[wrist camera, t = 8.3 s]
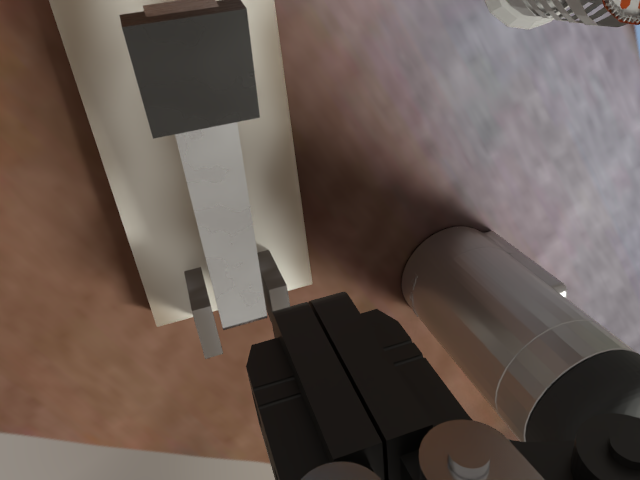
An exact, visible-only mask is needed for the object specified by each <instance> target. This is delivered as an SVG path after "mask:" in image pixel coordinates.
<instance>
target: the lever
mask: <svg viewBox="0 0 640 480" xmlns="http://www.w3.org/2000/svg"><path fill="white" fill-rule="evenodd" d="M143 9H144V11H142V12H135V13H128V14H122V15H120V20H121V26H122V30H123V33H124V37H125V41H126V44H127V48H128V51H129V55H130V58H131V62H132V65H133V69H134V73H135V76H136V80H137V83H138V87H139V90H140V94H141V98H142V101H143V105H144V108H145V112H146V115H147V119H148V122H149V126H150V130H151V133H152V137H153V139H154V138H159V137H164V136H169V135H174V134H175V138H176V142H177V146H178V150H179V154H180V158H181V162H182V166H183V170H184V174H185V178H186V182H187V186H188V190H189V194H190V198H191V202H192V207H193V211H194V215H195V219H196V223H197V227H198V231H199V235H200V239H201V243H202V247H203V251H204V255H205V259H206V263H207V267H208V271H209V275H210V279H211V283H212V287H213V291H214V295H215V299H216V303H217V307H218V311H219V315H220V319H221V323H222V327H223V330H226V329H229V328H233V327H236V326H240V325H243V324H247V323H250V322H254V321H257V320H261V319H264V318H267V312H266V306H265V299H264V293H263V286H262V280H261V273H260V267H259V260H258V254H257V247H256V241H255V234H254V228H253V222H252V215H251V209H250V202H249V196H248V189H247V183H246V176H245V170H244V163H243V157H242V150H241V144H240V138H239V131H238V125H237V122H240V121H245V120H250V119H255V118H260V114H259V106H258V97H257V89H256V81H255V73H254V64H253V56H252V48H251V40H250V31H249V23H248V15H247V8H246V7H245V6H244V4H243V3H242V1H241V0H219V1H216V0H178V1H171V2H164V3H157V4H150V5H143Z"/></svg>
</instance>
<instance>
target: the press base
mask: <svg viewBox="0 0 640 480" xmlns="http://www.w3.org/2000/svg"><path fill="white" fill-rule="evenodd" d="M171 1H178V0H49V2H50V5H51V8H52V11H53V14H54V17H55V20H56V23H57V27H58V30H59V33H60V36H61V39H62V42H63V45H64V48H65V51H66V54H67V57H68V60H69V63H70V66H71V69H72V72H73V75H74V78H75V81H76V84H77V87H78V90H79V93H80V96H81V99H82V102H83V105H84V108H85V111H86V114H87V117H88V120H89V123H90V126H91V129H92V132H93V135H94V138H95V141H96V144H97V147H98V150H99V153H100V156H101V159H102V162H103V165H104V168H105V171H106V175H107V178H108V181H109V184H110V187H111V190H112V193H113V196H114V199H115V202H116V205H117V208H118V211H119V214H120V217H121V220H122V223H123V226H124V229H125V232H126V235H127V238H128V241H129V244H130V247H131V250H132V253H133V256H134V259H135V262H136V265H137V268H138V271H139V274H140V277H141V280H142V283H143V286H144V289H145V292H146V295H147V298H148V301H149V304H150V307H151V310H152V313H153V316H154V319H155V323H156V326H157V327H158V326H162V325H166V324H169V323H173V322H177V321H180V320H184V319H187V318H191V317H194V321H195V324H196V328H197V331H198V335H199V338H200V342H201V345H202V349H203V353H204V356H205V359H207V358H210V357H213V356H217V355H220V354H223V351H222V347H221V343H220V339H219V335H218V332H217V328H216V324H215V320H214V316H213V311H216V310H218V307H217V303H216V299H215V295H214V291H213V287H212V283H211V279H210V275H209V271H208V267H207V263H206V259H205V255H204V251H203V247H202V243H201V239H200V235H199V231H198V227H197V223H196V219H195V215H194V211H193V207H192V202H191V198H190V194H189V190H188V186H187V182H186V178H185V174H184V170H183V166H182V162H181V158H180V154H179V150H178V146H177V142H176V138H175V134H174V135H169V136H164V137H159V138H154V139H153V137H152V133H151V130H150V126H149V122H148V119H147V115H146V112H145V108H144V105H143V101H142V98H141V94H140V90H139V87H138V83H137V80H136V76H135V73H134V69H133V65H132V62H131V58H130V55H129V51H128V48H127V44H126V41H125V37H124V33H123V30H122V26H121V20H120V15H122V14H128V13H135V12H142V11H144V9H143V5H150V4H157V3H164V2H171ZM216 1H219V0H216ZM241 1H242V3H243V4H244V6H245V7H246V8H247V15H248V23H249V31H250V40H251V48H252V56H253V64H254V73H255V81H256V89H257V97H258V106H259V114H260V118H255V119H250V120H245V121H240V122H237V125H238V131H239V138H240V144H241V150H242V157H243V163H244V170H245V176H246V183H247V189H248V196H249V202H250V209H251V215H252V222H253V228H254V234H255V241H256V247H257V254H258V260H259V267H260V273H261V280H262V286H263V293H264V299H265V306H266V310H267V312H268V315H269V317H270V320H271V312H272V311H276V310H280V309H283V308H287V307H290V303H289V297H288V291H289V290H293V289H296V288H300V287H304V286H307V285H311V284H312V277H311V269H310V262H309V255H308V247H307V240H306V232H305V225H304V218H303V210H302V203H301V195H300V188H299V181H298V173H297V166H296V158H295V151H294V143H293V136H292V129H291V121H290V114H289V106H288V99H287V92H286V84H285V77H284V69H283V62H282V55H281V47H280V40H279V32H278V25H277V18H276V10H275V3H274V0H241ZM271 322H272V320H271Z"/></svg>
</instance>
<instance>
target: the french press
mask: <svg viewBox="0 0 640 480" xmlns="http://www.w3.org/2000/svg"><path fill="white" fill-rule="evenodd" d="M485 2H486V5H487V7H488V9H489V11H490V13H491V14H492V15H494V16H495V17H496V18H497V19H499V20H500V21H501V22H502V23H504V24H505V25H506V26H507V27H514V28H521V29H528V30H529V29H532V28H535V27H538V26H541V25H543V24H546V23H549V22H551V21H552V20H554V19H555V20H559V21H569V22H573V23H584V24H585V25H597V26H610V27H620V26H623V25H626V24H635V25H639V24H640V0H485ZM588 2H591V3H593V4H592V5H590V6H589V7H587V8H586V9H585V10H584V8H583V5H585V4H586V3H588ZM601 4H603V5H604V8H602V9H601V10H599V11H598V12H596V13H595V14H594V15H591V16H589V17H588V16H587V14H588V13H589V12H591V11H592V10H593V9H595V8H596V7H598V6H599V5H601ZM568 7H570V8H571V9H570V10H568V11H567V12H566V10H565V9H566V8H568ZM607 11H608V12H610V13H611V14H612V15H610V16H609V17H607V18H605V19H603V20H600V21H598V22H596V23H595V22H594V21H593V19H596V18H598V17H600V16H602V15H603V14H604V13H606V12H607ZM572 13H574V14H575V15H574V16H572V17H571V16H570V14H572ZM559 14H560V15H559ZM563 17H565V18H566V19H561V18H563ZM578 18H579V19H580V21H575V19H578Z"/></svg>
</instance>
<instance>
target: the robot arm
mask: <svg viewBox="0 0 640 480" xmlns="http://www.w3.org/2000/svg"><path fill="white" fill-rule="evenodd" d="M401 286H402V292H403V296H404V298H405V300H406V302H407V303H408V304H409V306H410V307H411V308H412V309H413V311H414V313H415V314H416V315H417V317H419V318H420V319H421V321H422V322H423V323H424V324H425V325H426V327H427V328H428V329H429V331H430V332H431V333H432V334H433V336H434V337H435V338H436V339H437V340H438V342H439V343H440V344H441V345H442V346H443V348H444V349H445V350H446V351H447V353H448V354H449V355H450V356H451V357H452V359H453V360H454V361H455V362H456V364H457V365H458V366H459V367H460V368H461V370H462V371H463V372H464V373H465V375H466V376H467V377H468V378H469V379H470V381H471V382H472V383H473V384H474V386H475V387H476V388H477V389H478V390H479V392H480V393H481V394H482V395H483V397H484V398H485V399H486V400H487V401H488V403H489V404H490V405H491V406H492V407H493V409H494V410H495V411H496V412H497V414H498V415H499V416H500V417H501V418H502V420H503V421H504V422H505V423H506V424H507V426H508V427H509V428H510V429H511V431H512V432H513V433H514V434H515V435H516V437H517V438H518V439H519V440H520V441H521V442H520V441H513V440H509V439H507V438H506V437H505V436H504V435H503V434H502V433H500V432H499V431H497V430H496V429H494V428H492V427H490V426H489V425H486V424H483V423H481V422H477V421H473V420H472V419H471V418H470V417H469V416H468V414H467V413H466V412H465V410H464V409H463V408H462V406H461V405H460V404H459V402H458V401H457V400H456V398H455V397H454V396H453V394H452V393H451V392H450V390H449V389H448V388H447V386H446V385H445V384H444V382H443V381H442V380H441V378H440V377H439V376H438V374H437V373H436V372H435V370H434V369H433V368H432V366H431V365H430V364H429V362H428V361H427V360H426V358H423V355H422V353H421V352H420V350H419V349H418V348H417V346H416V345H415V344H414V343H412V341H411V338H410V337H409V336H408V334H407V333H406V331H405V330H404V329H403V327H402V326H401V325H400V323H399V322H398V321H396V320H395V319H393V318H391V317H390V316H388V315H386V314H385V313H383V312H381V311H379V310H378V309H375V310H372V311H368V312H365V313H361V314H360V312H359V311H358V309H357V308H356V306H355V305H354V303H353V302H352V300H351V299H350V297H349V296H348V294H347V293H346V292H341V293H337V294H333V295H330V296H326V297H323V298H319V299H315V300H312V301H309V303H307V302H305V303H301V304H298V305H294V306H291V307H287V308H283V309H280V310H276V311H272V312H271V320H272V326H273V331H274V337H275V339H272V340H268V341H265V342H261V343H258V344H254V345H252V346H251V350H250V354H249V358H248V362H247V366H246V368H247V372H248V377H249V381H250V385H251V390H252V394H253V398H254V403H255V407H256V412H257V416H258V420H259V425H260V428H261V432H262V435H263V439H264V442H265V446H266V449H267V452H268V456H269V459H270V463H271V466H272V470H273V473H274V477H275V480H640V355H639V354H638V353H637V352H636V351H634V350H633V349H632V348H630V347H629V346H628V345H626V344H625V343H624V342H623V341H621V340H620V339H619V338H617V337H616V336H615V335H613V334H612V333H611V332H610V331H608V330H607V329H606V328H604V327H603V326H602V325H600V324H599V323H598V322H596V321H595V320H594V319H592V318H591V317H590V316H589V315H587V314H586V313H585V312H583V311H582V310H581V309H580V308H578V307H577V306H576V305H574V304H573V303H572V302H570V301H569V300H568V299H567V298H566V295H567V288H566V286H565V285H564V284H563V283H562V282H561V281H559V280H558V279H557V278H555V277H554V276H553V275H551V274H550V273H549V272H547V271H546V270H545V269H543V268H542V267H541V266H539V265H538V264H537V263H535V262H534V261H533V260H531V259H530V258H529V257H527V256H526V255H524V254H523V253H522V252H520V251H519V250H518V249H516V248H515V247H514V246H512V245H511V244H510V243H508V242H507V241H506V240H504V239H503V238H502V237H500V236H499V235H498V234H496V233H495V232H494V231H490V232H485V233H483V232H480V231H478V230H476V229H474V228H470V227H465V226H459V227H451V228H447V229H444V230H442V231H440V232H437V233H435V234H433V235H432V236H431V237H429V238H428V239H426V240H425V241H424V242H423V243H422V244H421V245H420V246H419V247H418V248H417V249H416V250H415V251H414V253H413V254H412V255H411V257H410V258H409V260H408V262H407V264H406V266H405V269H404V272H403V276H402V285H401Z"/></svg>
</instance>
